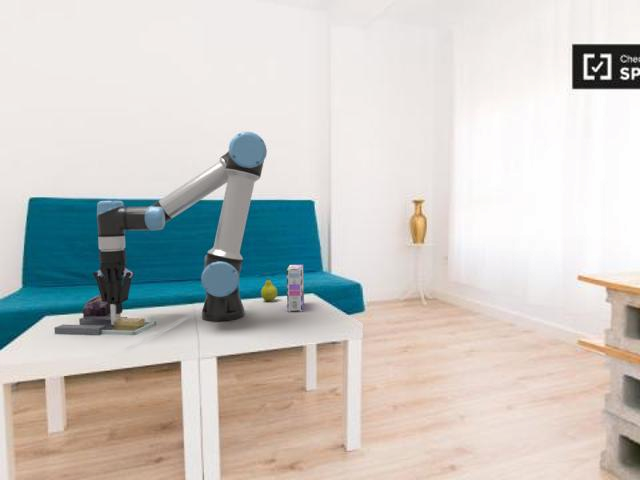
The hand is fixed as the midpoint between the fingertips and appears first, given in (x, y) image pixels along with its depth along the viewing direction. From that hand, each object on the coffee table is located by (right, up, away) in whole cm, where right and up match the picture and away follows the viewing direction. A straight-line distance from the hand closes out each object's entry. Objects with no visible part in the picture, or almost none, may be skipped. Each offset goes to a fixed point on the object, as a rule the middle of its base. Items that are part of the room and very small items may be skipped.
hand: (116, 323), depth 132 cm
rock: (-15, -3, +18) cm, 23 cm away
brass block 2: (+7, -3, -1) cm, 7 cm away
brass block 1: (+3, -3, 0) cm, 4 cm away
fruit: (+43, 0, +45) cm, 62 cm away
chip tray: (+5, -3, 0) cm, 6 cm away
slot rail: (-8, -3, +2) cm, 9 cm away
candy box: (+56, 0, +31) cm, 64 cm away
